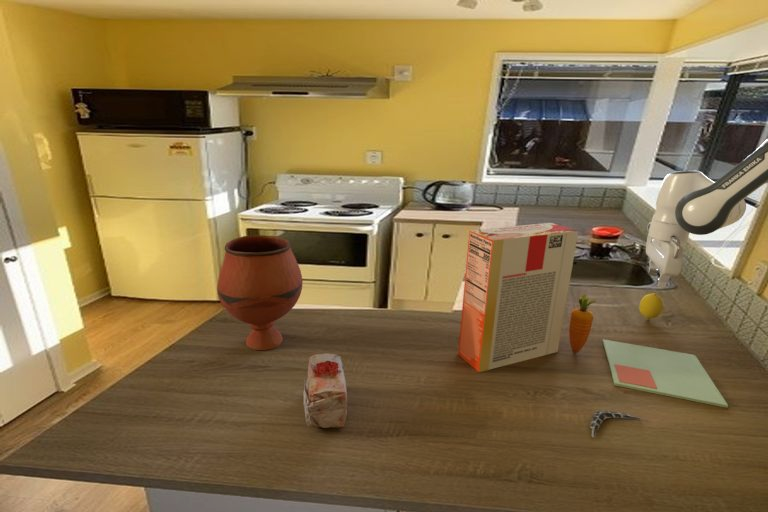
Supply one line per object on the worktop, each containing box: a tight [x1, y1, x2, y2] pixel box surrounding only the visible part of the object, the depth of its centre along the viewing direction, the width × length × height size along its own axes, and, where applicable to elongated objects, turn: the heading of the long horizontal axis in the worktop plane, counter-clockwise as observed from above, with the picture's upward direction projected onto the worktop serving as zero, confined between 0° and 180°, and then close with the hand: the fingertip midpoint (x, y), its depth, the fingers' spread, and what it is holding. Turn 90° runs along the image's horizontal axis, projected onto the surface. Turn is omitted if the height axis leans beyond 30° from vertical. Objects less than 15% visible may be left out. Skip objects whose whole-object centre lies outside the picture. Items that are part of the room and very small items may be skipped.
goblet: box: [216, 234, 304, 351], centre depth 99 cm, size 19×19×25 cm
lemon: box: [638, 292, 664, 320], centre depth 119 cm, size 6×6×8 cm
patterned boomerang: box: [589, 409, 644, 438], centre depth 78 cm, size 13×1×5 cm
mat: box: [601, 338, 729, 409], centre depth 95 cm, size 20×20×1 cm
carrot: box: [568, 293, 597, 354], centre depth 99 cm, size 5×5×15 cm
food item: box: [302, 352, 348, 429], centre depth 78 cm, size 14×8×10 cm, turn 11°
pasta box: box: [457, 222, 579, 373], centre depth 96 cm, size 23×8×30 cm, turn 114°
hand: (656, 280), depth 116 cm, fingers open, 8 cm apart
